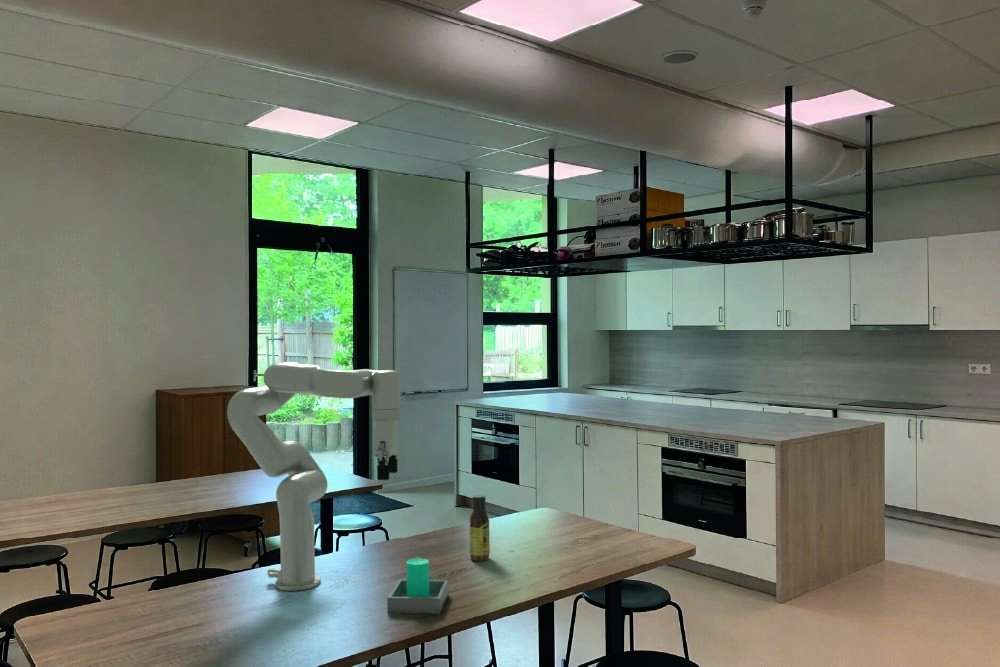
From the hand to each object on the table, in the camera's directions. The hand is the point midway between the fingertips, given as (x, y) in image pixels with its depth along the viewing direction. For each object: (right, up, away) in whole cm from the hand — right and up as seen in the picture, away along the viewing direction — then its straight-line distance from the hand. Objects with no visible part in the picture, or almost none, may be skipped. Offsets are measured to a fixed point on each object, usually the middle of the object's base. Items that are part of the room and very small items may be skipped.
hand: (387, 476), depth 204 cm
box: (+10, -32, -9) cm, 35 cm away
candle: (+10, -32, -9) cm, 34 cm away
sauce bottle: (+25, -32, +28) cm, 49 cm away
